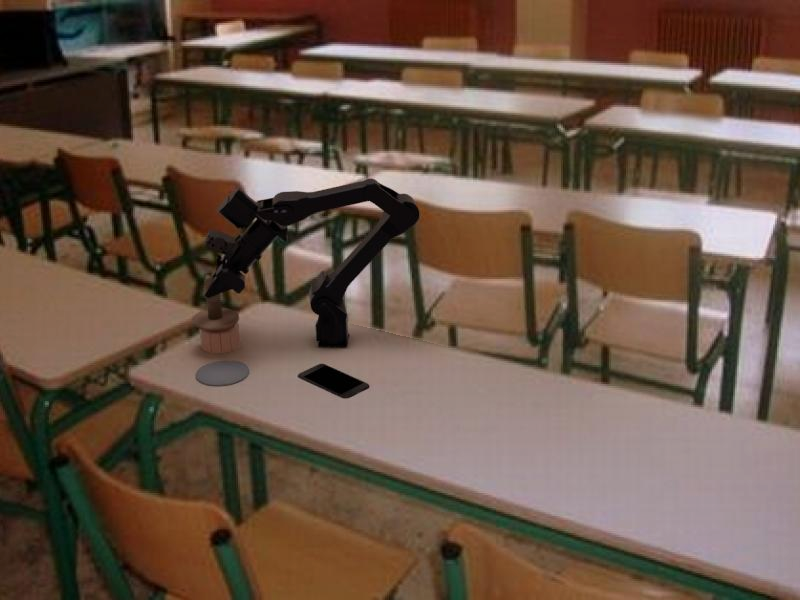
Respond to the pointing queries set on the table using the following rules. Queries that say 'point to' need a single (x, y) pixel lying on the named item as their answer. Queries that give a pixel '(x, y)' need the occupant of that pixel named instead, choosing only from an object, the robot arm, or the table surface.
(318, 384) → the smartphone
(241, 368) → the mat
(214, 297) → the post with round base
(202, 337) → the bowl
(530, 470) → the table surface
